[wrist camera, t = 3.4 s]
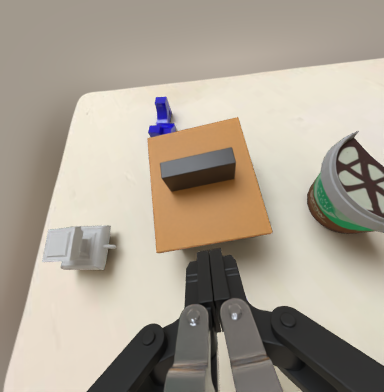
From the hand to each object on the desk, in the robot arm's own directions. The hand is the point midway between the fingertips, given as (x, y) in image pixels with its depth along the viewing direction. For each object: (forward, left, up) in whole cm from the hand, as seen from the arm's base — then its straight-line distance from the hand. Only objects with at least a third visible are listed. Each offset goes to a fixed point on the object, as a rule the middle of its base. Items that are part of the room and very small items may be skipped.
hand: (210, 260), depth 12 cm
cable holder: (-17, -21, -18) cm, 33 cm away
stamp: (+8, -19, -18) cm, 27 cm away
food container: (-15, +9, -18) cm, 25 cm away
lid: (-8, -7, -10) cm, 14 cm away
